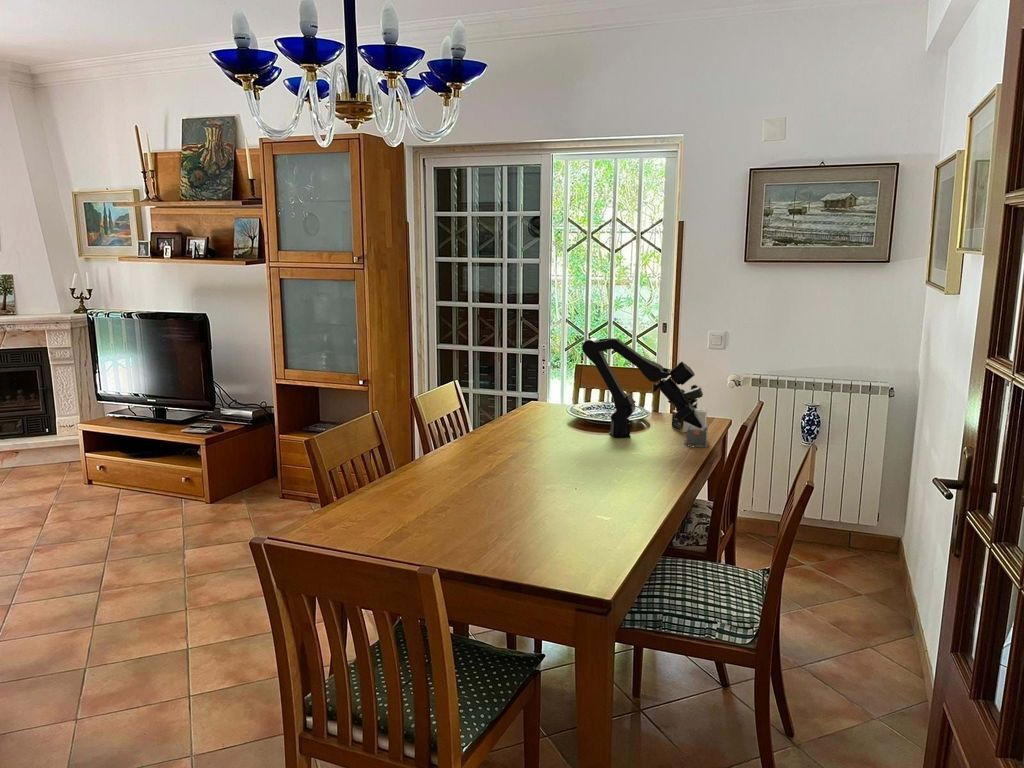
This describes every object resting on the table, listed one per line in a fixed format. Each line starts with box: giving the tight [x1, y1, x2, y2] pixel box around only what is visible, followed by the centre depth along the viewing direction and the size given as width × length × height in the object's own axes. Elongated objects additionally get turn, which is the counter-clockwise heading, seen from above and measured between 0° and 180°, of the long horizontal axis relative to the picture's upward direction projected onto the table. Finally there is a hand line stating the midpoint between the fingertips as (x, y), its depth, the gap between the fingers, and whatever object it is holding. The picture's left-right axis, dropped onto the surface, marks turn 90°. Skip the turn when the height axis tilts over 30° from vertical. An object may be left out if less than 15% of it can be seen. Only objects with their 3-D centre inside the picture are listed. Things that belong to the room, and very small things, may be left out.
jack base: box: [683, 426, 711, 448], centre depth 268 cm, size 9×9×6 cm
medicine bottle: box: [671, 402, 695, 433], centre depth 286 cm, size 7×7×12 cm
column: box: [690, 407, 708, 432], centre depth 267 cm, size 5×5×12 cm
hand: (702, 425), depth 266 cm, fingers closed on column, 5 cm apart
